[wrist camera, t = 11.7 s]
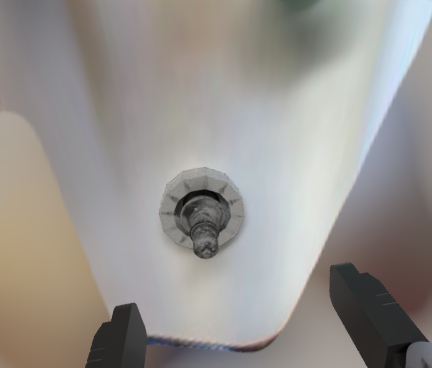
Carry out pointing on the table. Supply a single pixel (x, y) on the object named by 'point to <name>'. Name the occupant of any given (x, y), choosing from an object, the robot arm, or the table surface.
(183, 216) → the salt shaker
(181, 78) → the table surface
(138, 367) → the robot arm
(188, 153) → the table surface
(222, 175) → the ring
